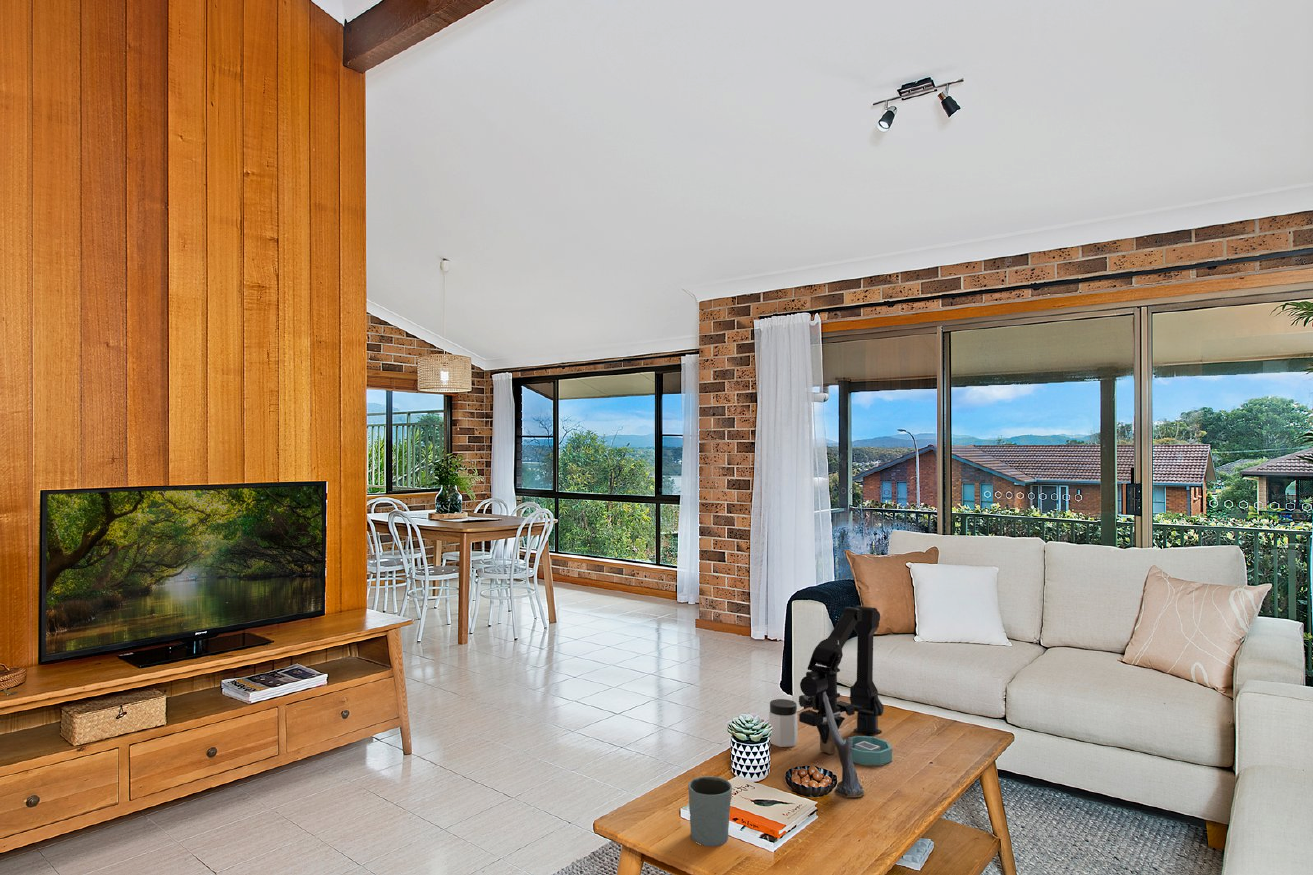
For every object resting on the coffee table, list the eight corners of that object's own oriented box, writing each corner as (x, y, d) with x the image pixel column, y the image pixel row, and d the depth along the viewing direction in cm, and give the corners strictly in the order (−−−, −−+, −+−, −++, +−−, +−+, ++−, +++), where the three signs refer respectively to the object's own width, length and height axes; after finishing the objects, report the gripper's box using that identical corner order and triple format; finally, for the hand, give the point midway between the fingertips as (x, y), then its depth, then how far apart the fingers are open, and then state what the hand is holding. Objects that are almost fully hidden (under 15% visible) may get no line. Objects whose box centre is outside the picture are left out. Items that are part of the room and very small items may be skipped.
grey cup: (705, 823, 187) (705, 772, 187) (741, 836, 181) (740, 783, 181) (679, 839, 179) (679, 786, 180) (715, 853, 173) (715, 798, 173)
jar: (803, 743, 240) (803, 703, 240) (785, 749, 235) (785, 709, 235) (781, 735, 247) (781, 697, 247) (763, 741, 242) (763, 702, 242)
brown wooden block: (825, 748, 234) (825, 721, 234) (834, 752, 231) (834, 724, 231) (820, 750, 233) (819, 723, 233) (829, 754, 230) (829, 726, 230)
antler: (869, 793, 204) (868, 696, 205) (854, 802, 198) (853, 703, 199) (829, 780, 212) (829, 687, 213) (814, 789, 206) (814, 693, 207)
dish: (863, 745, 238) (863, 733, 238) (900, 758, 228) (899, 745, 228) (835, 755, 230) (835, 742, 230) (871, 768, 220) (871, 755, 220)
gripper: (826, 677, 245) (827, 728, 244) (785, 688, 233) (785, 741, 233) (855, 686, 236) (856, 738, 235) (813, 697, 224) (814, 752, 224)
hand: (827, 742), depth 232 cm, fingers closed on brown wooden block, 2 cm apart
